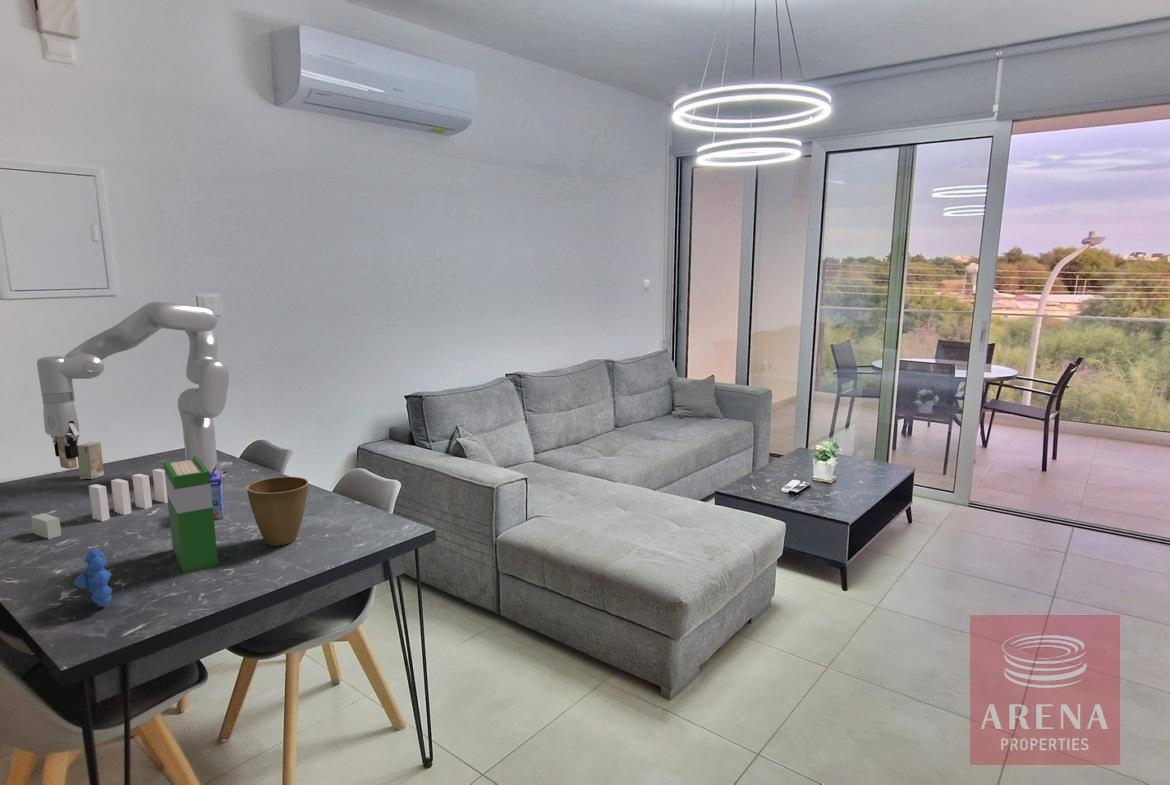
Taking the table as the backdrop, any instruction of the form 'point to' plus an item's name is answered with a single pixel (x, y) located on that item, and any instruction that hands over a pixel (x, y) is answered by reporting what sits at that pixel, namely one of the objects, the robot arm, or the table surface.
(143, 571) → the table surface
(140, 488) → the domino
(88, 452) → the skincare box
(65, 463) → the domino
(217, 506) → the ink cartridge box
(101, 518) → the domino
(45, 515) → the block
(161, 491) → the domino
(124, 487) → the domino
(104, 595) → the grapes
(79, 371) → the robot arm
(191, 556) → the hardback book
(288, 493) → the plant pot
